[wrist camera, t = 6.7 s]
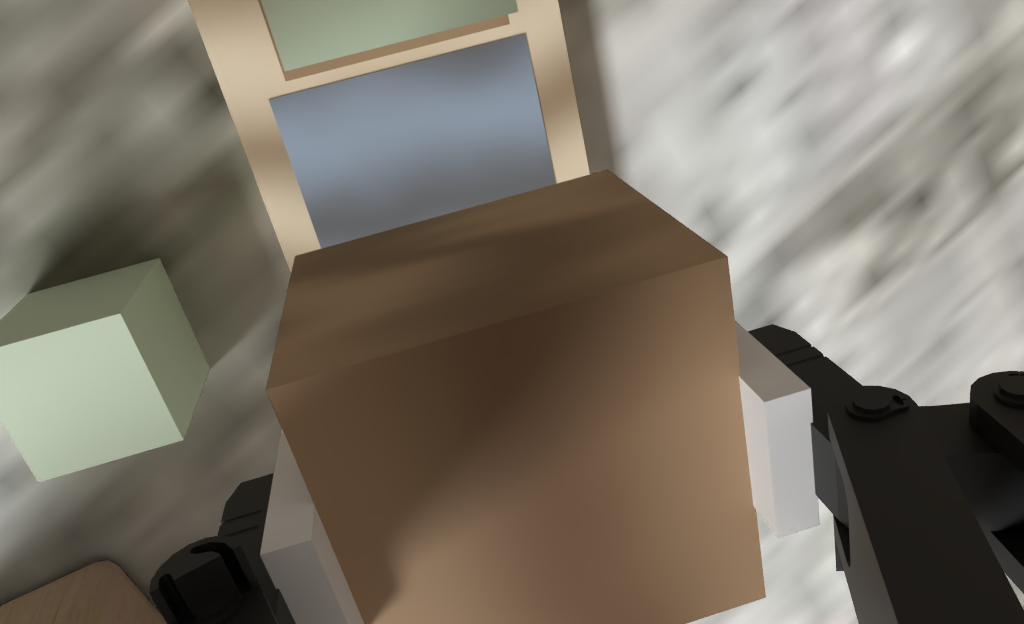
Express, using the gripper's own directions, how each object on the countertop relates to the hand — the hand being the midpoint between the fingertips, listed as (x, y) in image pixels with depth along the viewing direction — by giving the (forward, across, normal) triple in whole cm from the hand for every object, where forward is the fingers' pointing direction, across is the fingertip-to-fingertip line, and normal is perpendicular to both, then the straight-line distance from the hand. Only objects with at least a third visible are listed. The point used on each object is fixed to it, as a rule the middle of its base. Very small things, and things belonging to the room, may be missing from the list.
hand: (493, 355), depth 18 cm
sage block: (+17, -14, -3) cm, 23 cm away
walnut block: (0, 0, 0) cm, 0 cm away
